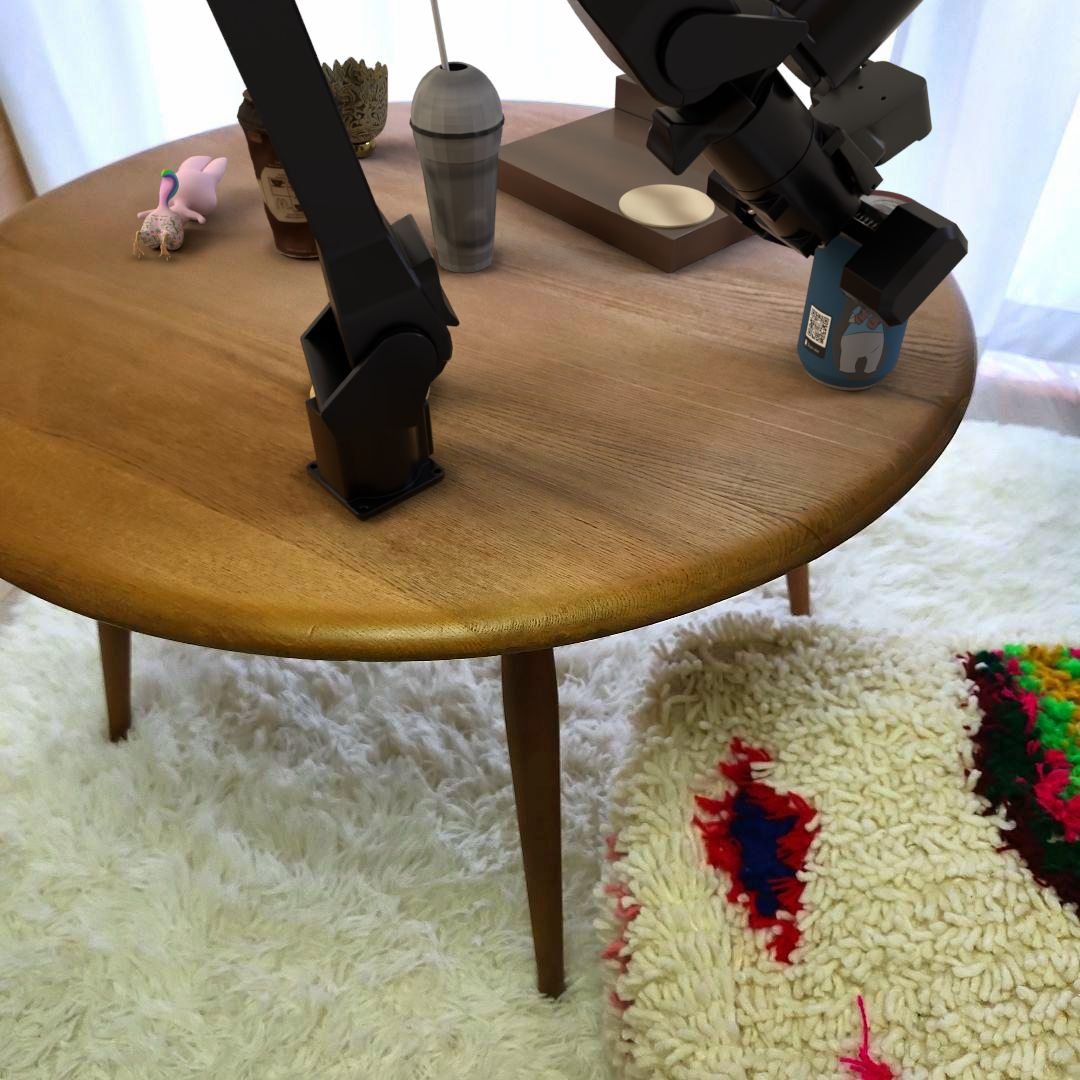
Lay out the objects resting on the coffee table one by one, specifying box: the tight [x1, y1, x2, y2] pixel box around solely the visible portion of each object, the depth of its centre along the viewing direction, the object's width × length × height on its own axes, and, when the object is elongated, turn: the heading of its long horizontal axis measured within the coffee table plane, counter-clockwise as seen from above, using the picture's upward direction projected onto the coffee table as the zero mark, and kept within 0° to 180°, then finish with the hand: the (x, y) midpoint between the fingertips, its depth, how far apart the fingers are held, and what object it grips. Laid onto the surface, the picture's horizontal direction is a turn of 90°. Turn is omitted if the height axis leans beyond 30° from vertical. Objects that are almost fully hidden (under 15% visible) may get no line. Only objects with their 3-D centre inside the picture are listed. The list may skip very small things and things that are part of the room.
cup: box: [321, 56, 389, 159], centre depth 100 cm, size 8×7×8 cm
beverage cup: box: [408, 0, 506, 274], centre depth 79 cm, size 7×7×20 cm
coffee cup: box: [236, 78, 344, 259], centre depth 84 cm, size 9×8×13 cm
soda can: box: [796, 189, 916, 391], centre depth 69 cm, size 7×7×12 cm
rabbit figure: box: [131, 155, 228, 262], centre depth 89 cm, size 6×6×15 cm
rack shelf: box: [497, 73, 755, 274], centre depth 93 cm, size 18×24×6 cm
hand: (879, 280), depth 69 cm, fingers closed on soda can, 7 cm apart
